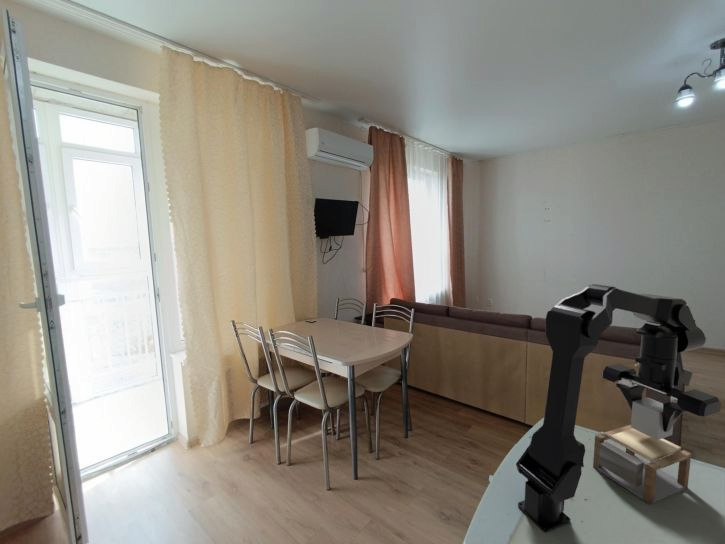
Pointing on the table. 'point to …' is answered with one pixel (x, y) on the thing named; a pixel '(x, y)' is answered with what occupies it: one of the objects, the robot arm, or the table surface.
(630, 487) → the mat
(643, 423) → the light grey block
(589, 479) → the table surface
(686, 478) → the frame
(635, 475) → the trapdoor
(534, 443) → the robot arm
